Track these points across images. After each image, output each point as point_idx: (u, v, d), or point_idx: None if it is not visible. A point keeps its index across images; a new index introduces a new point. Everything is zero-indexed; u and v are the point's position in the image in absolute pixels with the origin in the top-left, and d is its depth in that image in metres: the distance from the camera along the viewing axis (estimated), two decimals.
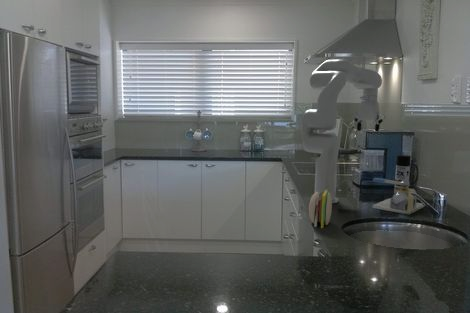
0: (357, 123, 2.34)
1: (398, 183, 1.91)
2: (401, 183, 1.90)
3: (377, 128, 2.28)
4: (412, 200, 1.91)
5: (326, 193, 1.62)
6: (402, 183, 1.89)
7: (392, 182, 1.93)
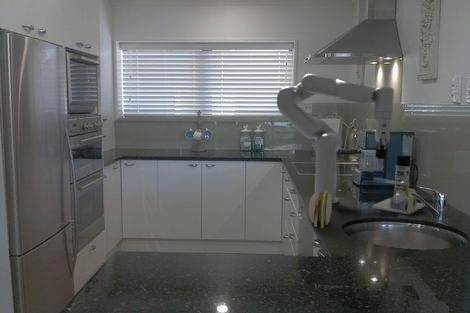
0: (383, 150, 1.85)
1: (398, 183, 1.91)
2: (401, 183, 1.90)
3: None
4: (412, 200, 1.91)
5: (326, 193, 1.62)
6: (402, 183, 1.89)
7: (392, 182, 1.93)
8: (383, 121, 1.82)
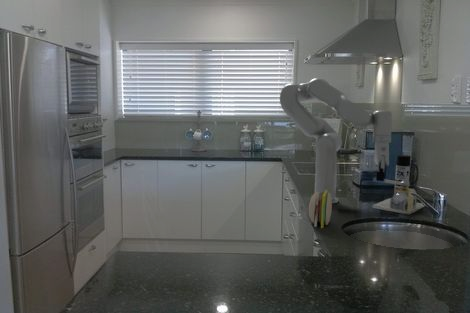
0: (382, 172, 1.88)
1: (398, 183, 1.91)
2: (401, 183, 1.90)
3: None
4: (412, 200, 1.91)
5: (326, 193, 1.62)
6: (402, 183, 1.89)
7: (392, 182, 1.93)
8: (382, 144, 1.84)
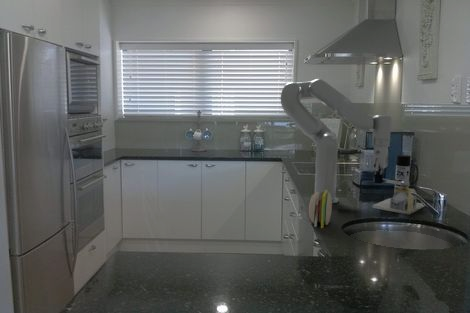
0: (379, 175, 1.93)
1: (398, 183, 1.91)
2: (401, 183, 1.90)
3: None
4: (412, 200, 1.91)
5: (326, 193, 1.62)
6: (402, 183, 1.89)
7: (392, 182, 1.93)
8: (377, 148, 1.90)
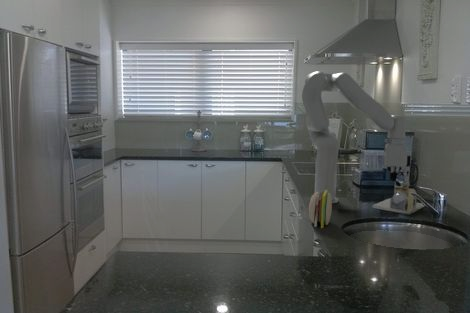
0: (391, 172, 2.00)
1: (401, 182, 1.93)
2: None
3: (396, 177, 2.01)
4: (412, 200, 1.91)
5: (326, 193, 1.62)
6: (400, 182, 1.91)
7: (400, 181, 1.95)
8: (385, 146, 2.00)
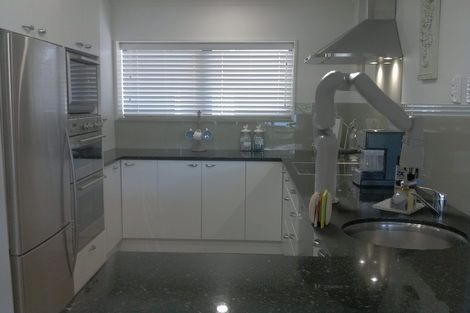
0: (407, 173, 1.99)
1: None
2: None
3: (412, 178, 1.98)
4: (412, 200, 1.91)
5: (326, 193, 1.62)
6: None
7: None
8: None
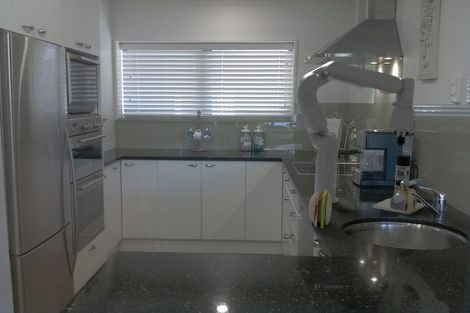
0: None
1: None
2: None
3: (403, 141, 1.97)
4: (412, 200, 1.91)
5: (326, 193, 1.62)
6: None
7: None
8: None
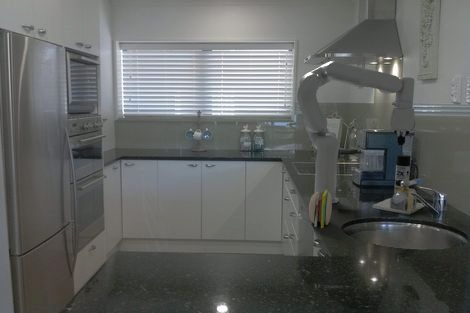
0: (398, 136, 1.98)
1: None
2: None
3: (403, 141, 1.97)
4: (412, 200, 1.91)
5: (326, 193, 1.62)
6: None
7: None
8: None
